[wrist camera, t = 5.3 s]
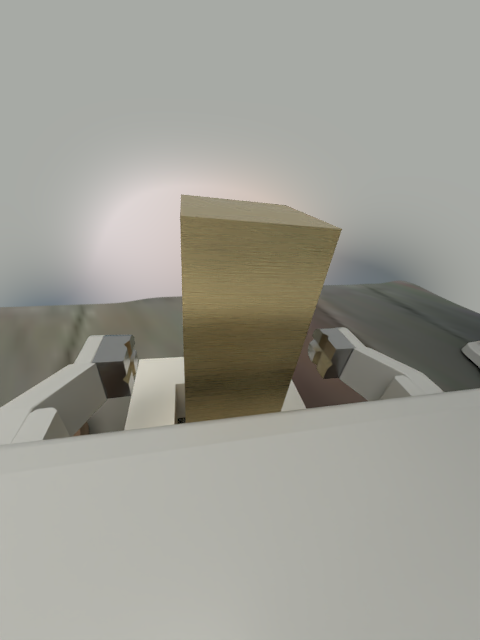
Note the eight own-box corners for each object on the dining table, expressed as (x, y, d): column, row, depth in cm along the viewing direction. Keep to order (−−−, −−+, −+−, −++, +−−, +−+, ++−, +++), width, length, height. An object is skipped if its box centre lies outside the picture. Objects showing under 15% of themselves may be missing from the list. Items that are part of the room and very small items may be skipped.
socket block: (269, 383, 20) (278, 352, 18) (329, 535, 12) (356, 508, 10) (145, 393, 18) (139, 359, 16) (113, 591, 9) (93, 570, 8)
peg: (243, 418, 17) (285, 205, 9) (257, 480, 14) (342, 228, 6) (186, 425, 16) (181, 194, 8) (187, 493, 13) (180, 215, 5)
